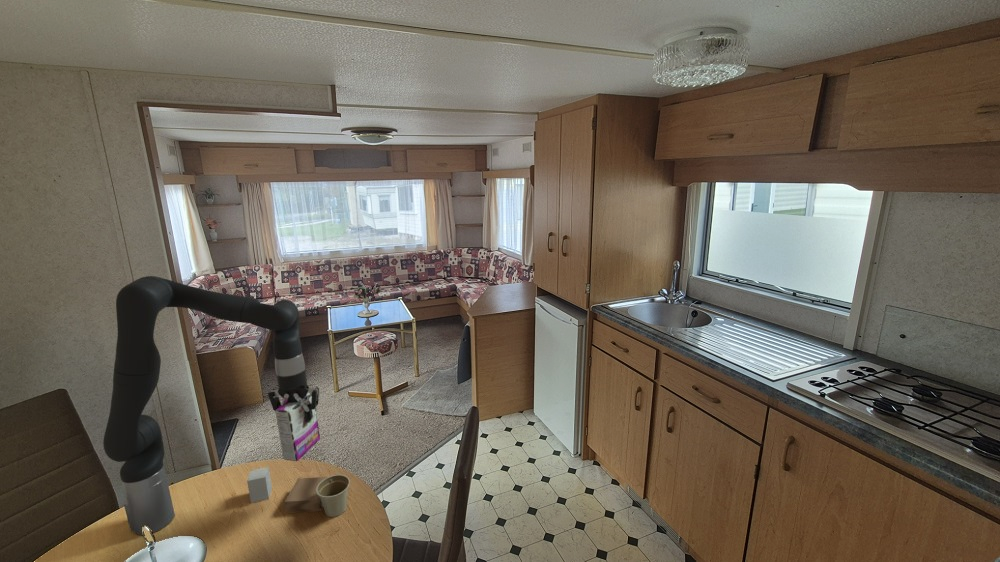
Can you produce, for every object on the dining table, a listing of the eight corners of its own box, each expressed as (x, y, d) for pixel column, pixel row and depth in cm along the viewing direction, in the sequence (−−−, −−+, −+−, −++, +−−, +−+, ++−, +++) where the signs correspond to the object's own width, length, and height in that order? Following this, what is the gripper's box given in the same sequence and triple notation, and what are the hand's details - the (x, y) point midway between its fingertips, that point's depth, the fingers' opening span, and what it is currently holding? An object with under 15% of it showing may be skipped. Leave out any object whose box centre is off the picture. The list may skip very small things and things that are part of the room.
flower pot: (324, 527, 120) (321, 502, 118) (315, 508, 127) (312, 483, 125) (357, 511, 125) (354, 486, 123) (346, 493, 133) (343, 470, 130)
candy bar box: (306, 437, 131) (300, 390, 127) (320, 439, 130) (314, 392, 126) (281, 460, 121) (274, 409, 117) (296, 462, 120) (289, 411, 116)
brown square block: (286, 512, 125) (284, 501, 124) (299, 488, 135) (298, 478, 134) (320, 511, 126) (318, 499, 125) (331, 487, 135) (329, 476, 134)
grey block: (251, 502, 129) (247, 480, 127) (254, 491, 134) (250, 470, 132) (268, 499, 130) (265, 477, 129) (271, 488, 135) (268, 467, 133)
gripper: (258, 376, 115) (267, 430, 119) (311, 374, 116) (318, 427, 120) (271, 364, 122) (279, 415, 126) (320, 362, 123) (327, 413, 127)
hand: (298, 421), depth 123 cm, fingers closed on candy bar box, 5 cm apart
